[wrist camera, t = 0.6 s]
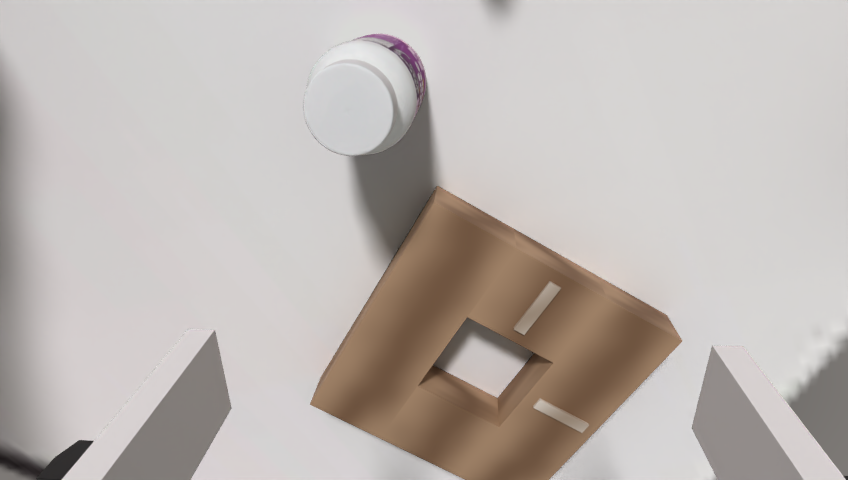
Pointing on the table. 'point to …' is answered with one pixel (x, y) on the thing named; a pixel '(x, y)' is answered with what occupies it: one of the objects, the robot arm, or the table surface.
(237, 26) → the table surface
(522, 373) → the board
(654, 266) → the table surface
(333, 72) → the pill bottle
